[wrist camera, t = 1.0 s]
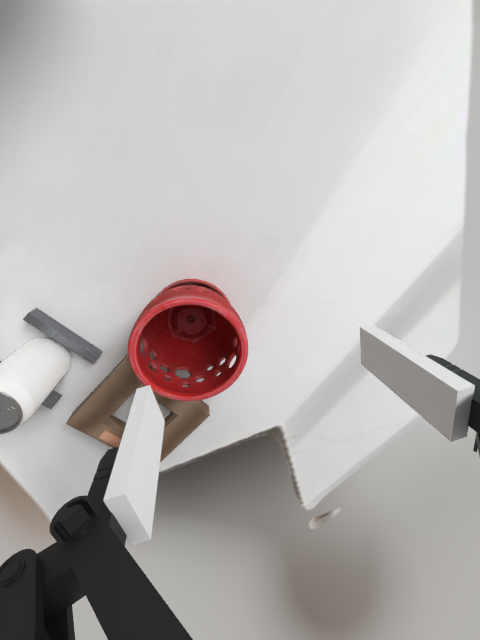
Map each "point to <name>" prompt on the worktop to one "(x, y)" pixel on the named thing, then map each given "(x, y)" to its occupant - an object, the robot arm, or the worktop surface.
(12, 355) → the can
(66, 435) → the worktop surface
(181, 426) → the plate
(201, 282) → the plant pot
